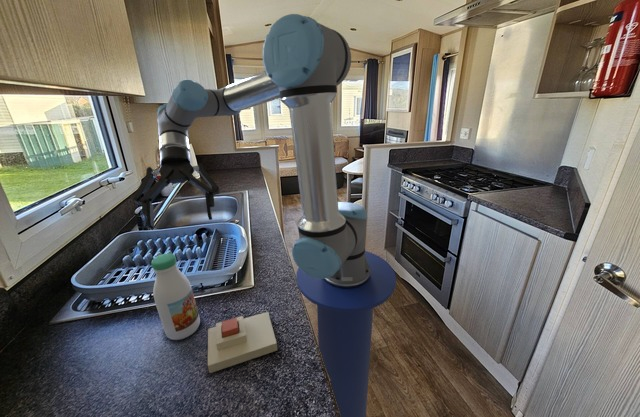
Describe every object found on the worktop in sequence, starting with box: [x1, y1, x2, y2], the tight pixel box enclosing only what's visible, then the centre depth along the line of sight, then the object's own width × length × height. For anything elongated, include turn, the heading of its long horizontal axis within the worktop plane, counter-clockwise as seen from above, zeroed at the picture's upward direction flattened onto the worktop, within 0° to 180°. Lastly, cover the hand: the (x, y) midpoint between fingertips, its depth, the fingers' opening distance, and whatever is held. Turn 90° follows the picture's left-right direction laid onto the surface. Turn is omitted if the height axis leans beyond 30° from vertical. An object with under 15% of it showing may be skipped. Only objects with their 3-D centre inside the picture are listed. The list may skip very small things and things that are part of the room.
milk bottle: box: [150, 252, 201, 341], centre depth 60 cm, size 8×8×20 cm
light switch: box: [207, 311, 278, 374], centre depth 59 cm, size 14×10×4 cm
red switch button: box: [221, 317, 239, 338], centre depth 58 cm, size 3×3×2 cm
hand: (181, 222), depth 66 cm, fingers open, 13 cm apart
